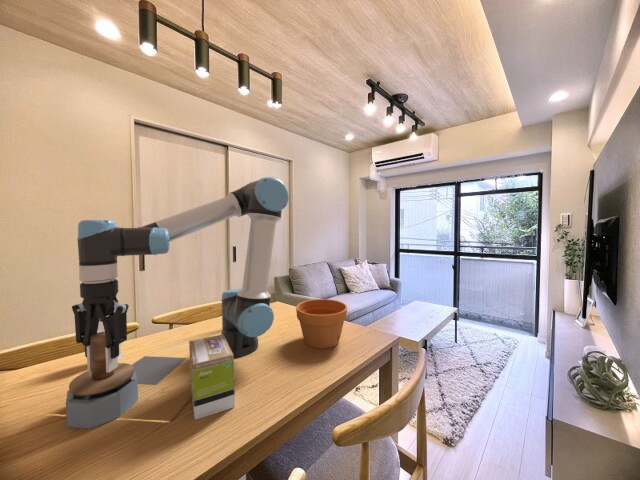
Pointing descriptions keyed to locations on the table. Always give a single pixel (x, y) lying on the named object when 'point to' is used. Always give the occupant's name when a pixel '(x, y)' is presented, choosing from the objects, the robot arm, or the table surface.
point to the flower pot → (321, 321)
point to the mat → (155, 368)
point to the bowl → (101, 405)
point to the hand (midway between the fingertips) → (102, 369)
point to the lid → (100, 371)
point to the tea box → (211, 376)
